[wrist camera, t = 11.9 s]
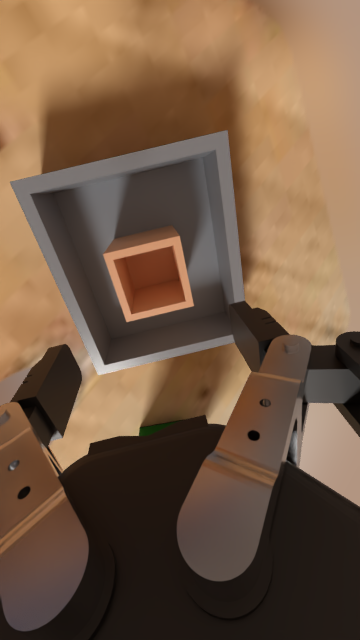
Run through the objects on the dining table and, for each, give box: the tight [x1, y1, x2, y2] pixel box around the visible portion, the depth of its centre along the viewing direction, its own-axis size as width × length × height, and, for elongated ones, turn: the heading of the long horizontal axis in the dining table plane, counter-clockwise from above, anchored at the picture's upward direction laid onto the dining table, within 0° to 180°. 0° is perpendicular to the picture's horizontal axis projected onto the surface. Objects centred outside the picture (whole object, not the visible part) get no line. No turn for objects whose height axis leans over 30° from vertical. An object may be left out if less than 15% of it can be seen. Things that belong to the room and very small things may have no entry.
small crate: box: [103, 225, 194, 322], centre depth 24 cm, size 6×6×7 cm
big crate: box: [10, 130, 245, 375], centre depth 25 cm, size 18×16×6 cm
